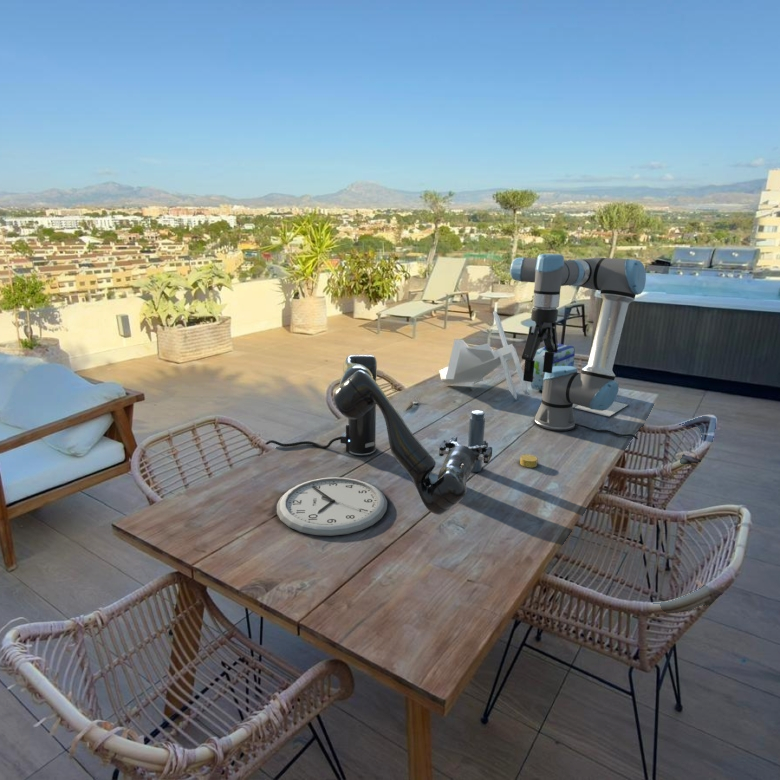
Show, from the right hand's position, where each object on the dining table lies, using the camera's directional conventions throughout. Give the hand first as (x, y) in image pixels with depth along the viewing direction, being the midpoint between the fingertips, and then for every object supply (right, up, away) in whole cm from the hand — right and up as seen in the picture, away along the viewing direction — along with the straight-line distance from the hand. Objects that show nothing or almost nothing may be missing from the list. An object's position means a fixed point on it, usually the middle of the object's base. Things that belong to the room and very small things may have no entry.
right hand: (537, 376), depth 161 cm
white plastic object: (-4, -5, +82) cm, 82 cm away
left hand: (-22, -19, -9) cm, 31 cm away
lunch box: (+32, -3, +90) cm, 96 cm away
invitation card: (+46, -11, +65) cm, 80 cm away
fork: (-36, -11, +61) cm, 72 cm away
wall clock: (-61, -36, -19) cm, 73 cm away
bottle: (-19, -29, +5) cm, 35 cm away
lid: (-1, -26, +8) cm, 28 cm away
